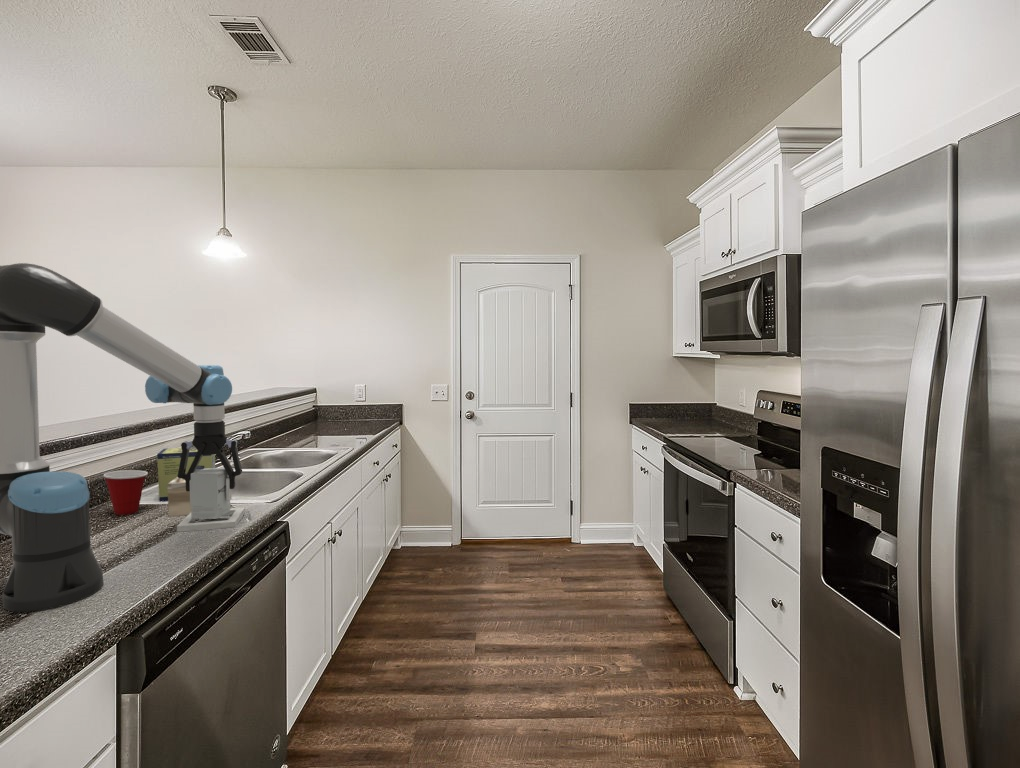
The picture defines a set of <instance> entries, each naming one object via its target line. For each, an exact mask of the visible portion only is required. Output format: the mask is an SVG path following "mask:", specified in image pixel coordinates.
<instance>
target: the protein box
mask: <svg viewBox="0 0 1020 768" xmlns="http://www.w3.org/2000/svg"><path fill="white" fill-rule="evenodd" d="M197 451H198V450H197V449H196V448H195V446H192V448H191V449H190V451H189V457H188V462H187V467H186V472H185V473H186V474H187V473H188V470H189V468H190V466H191V464H192V462H193V460H194V458H195V455H196V453H197ZM156 455H157V457H156V458H157V459H156V461H157V477H158V482H157V483H158V501H159V502H161V501H162V502H168V485H167V484H168V483H170V482H171V481H172V480H174V479H175V478H176V477H177V476H178V471H179V465H180V460H181V455H182V447H172V448H171V447H170V448H168V447H167V448H163V449H161V451H159V452H158V453H157V454H156ZM207 468H216V454H207V455H203V456H202V458H201V460H200V462H199V464H198V466H197V468H196V470H195V472H197V471H200V470H203V469H207Z"/></svg>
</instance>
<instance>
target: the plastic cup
mask: <svg viewBox="0 0 1020 768" xmlns="http://www.w3.org/2000/svg"><path fill="white" fill-rule="evenodd" d="M148 474H149V472H148V471H145V470H137V469H128V470H127V469H126V470H124V469H123V470H114V471H109V472H108V471H107V472H105V473H104V474H103V477H104V479H105V483H106V486H107V489H108V494H109V497H110V501H111V504H112V509H113V512H114V514H115V515H117V516H123V515H124V516H125V515H130V514H131V515H132V514H135V513H138V512H139V509H140V504H141V499H142V493H143V487H144V483H145V480H146V478H147V476H148Z"/></svg>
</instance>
